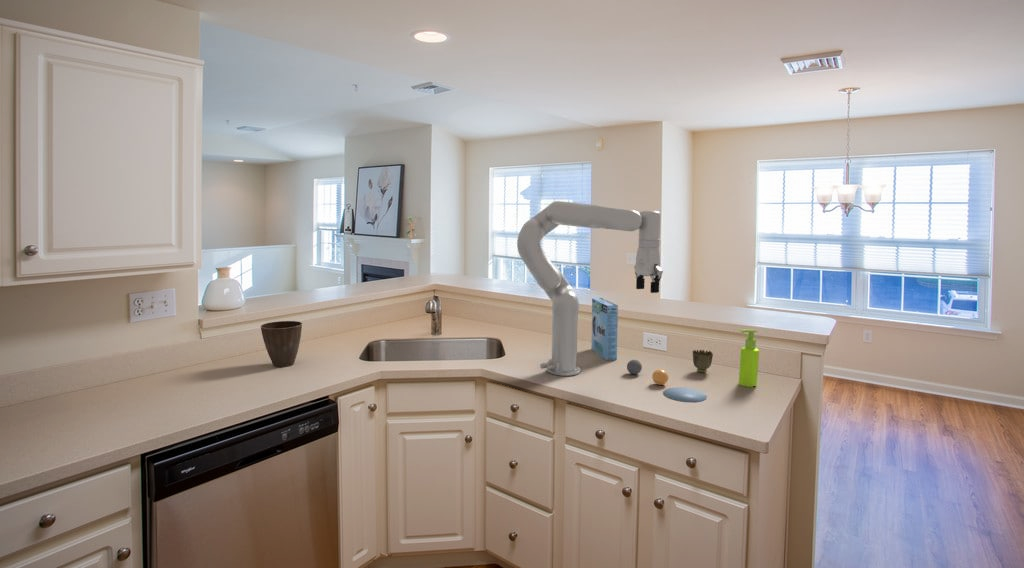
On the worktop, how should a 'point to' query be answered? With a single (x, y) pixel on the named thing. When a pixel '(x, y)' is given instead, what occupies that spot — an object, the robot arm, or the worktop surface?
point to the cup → (702, 360)
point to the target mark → (685, 394)
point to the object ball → (660, 377)
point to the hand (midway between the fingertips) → (647, 290)
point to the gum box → (604, 328)
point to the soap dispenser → (749, 361)
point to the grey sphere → (634, 367)
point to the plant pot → (282, 341)
